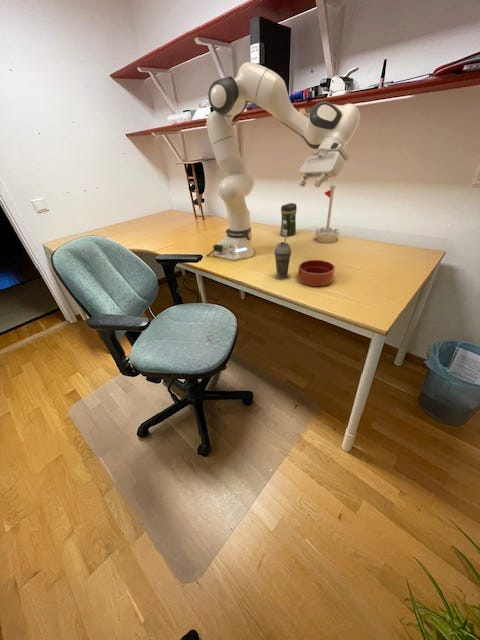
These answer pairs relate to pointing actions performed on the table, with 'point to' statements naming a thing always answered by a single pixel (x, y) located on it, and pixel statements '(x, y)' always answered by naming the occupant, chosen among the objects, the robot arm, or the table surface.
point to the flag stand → (328, 222)
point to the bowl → (316, 272)
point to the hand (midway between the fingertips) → (308, 186)
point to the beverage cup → (282, 259)
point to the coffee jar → (288, 219)
